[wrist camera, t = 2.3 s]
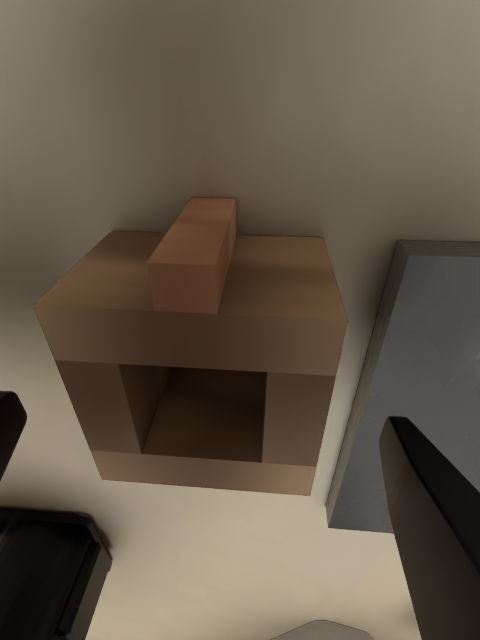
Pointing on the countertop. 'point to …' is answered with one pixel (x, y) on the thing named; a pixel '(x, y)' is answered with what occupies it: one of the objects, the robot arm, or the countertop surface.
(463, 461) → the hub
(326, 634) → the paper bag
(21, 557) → the robot arm
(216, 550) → the countertop surface
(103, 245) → the wooden cubby with handle
